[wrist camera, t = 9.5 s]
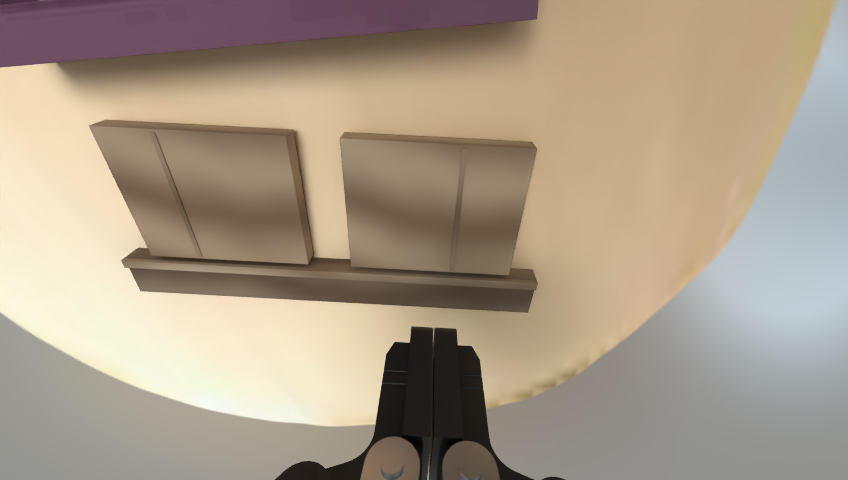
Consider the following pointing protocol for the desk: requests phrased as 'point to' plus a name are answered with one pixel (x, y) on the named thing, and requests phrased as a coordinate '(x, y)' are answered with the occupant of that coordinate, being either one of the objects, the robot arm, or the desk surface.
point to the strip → (332, 282)
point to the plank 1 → (210, 189)
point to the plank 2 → (434, 201)
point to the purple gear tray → (218, 23)
